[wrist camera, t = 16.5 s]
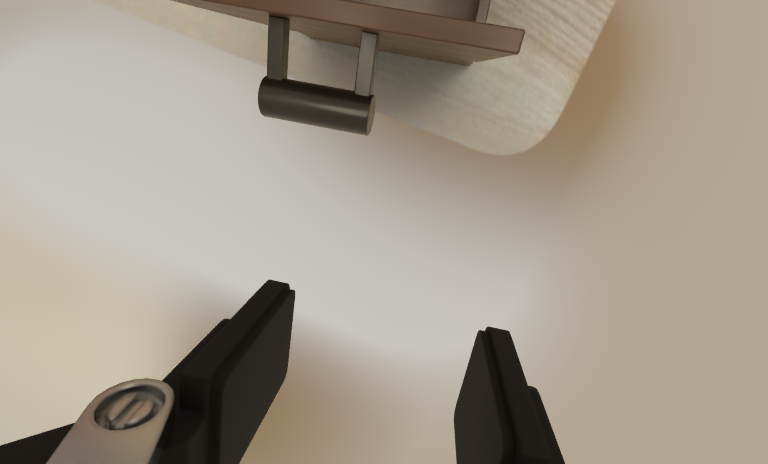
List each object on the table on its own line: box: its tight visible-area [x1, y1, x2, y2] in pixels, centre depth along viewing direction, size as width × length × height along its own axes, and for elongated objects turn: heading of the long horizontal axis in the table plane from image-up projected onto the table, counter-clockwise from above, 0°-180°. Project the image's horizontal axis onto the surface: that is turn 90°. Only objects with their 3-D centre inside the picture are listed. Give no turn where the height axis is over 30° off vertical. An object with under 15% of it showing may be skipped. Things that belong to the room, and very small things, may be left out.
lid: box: [172, 0, 525, 135], centre depth 23 cm, size 17×16×5 cm
